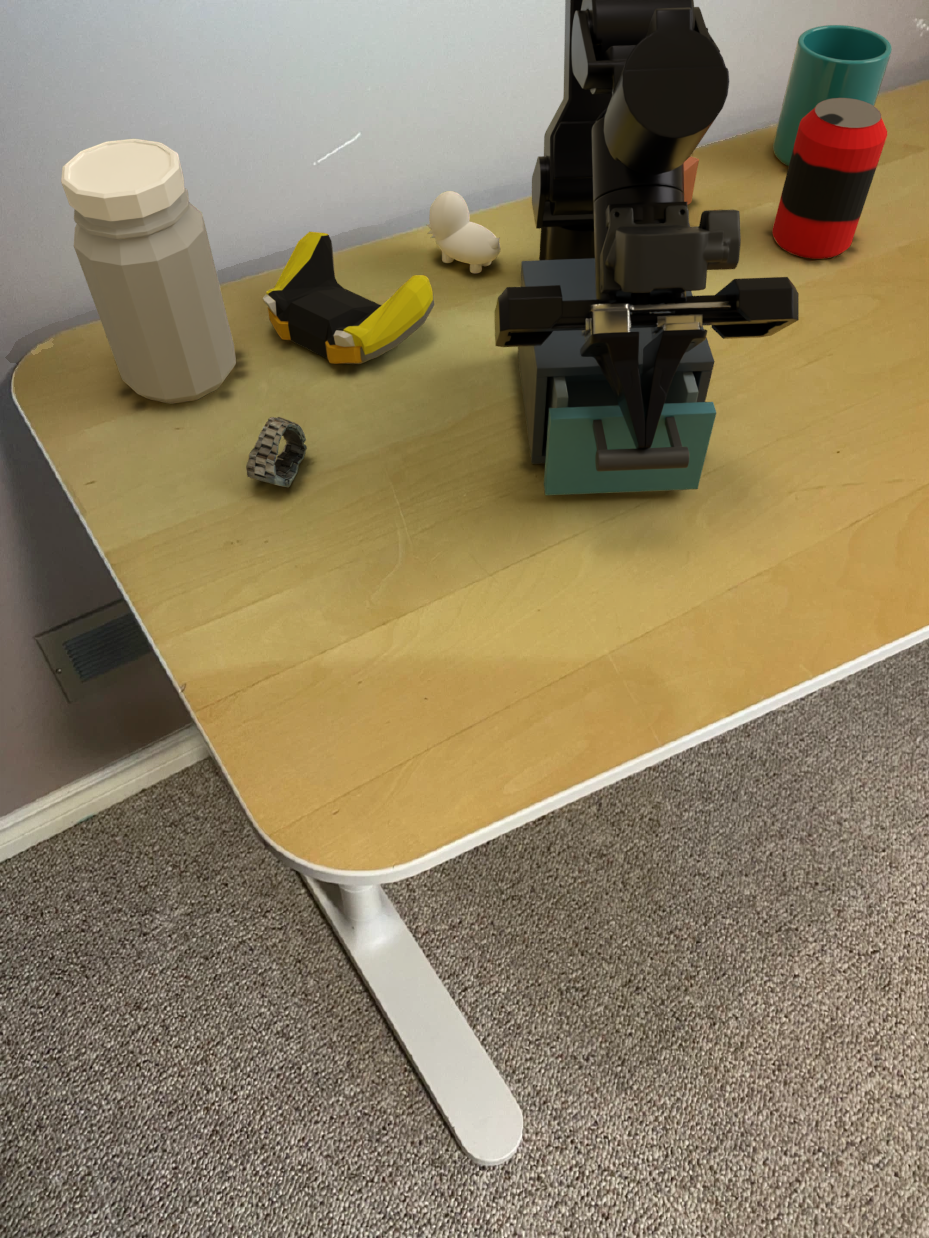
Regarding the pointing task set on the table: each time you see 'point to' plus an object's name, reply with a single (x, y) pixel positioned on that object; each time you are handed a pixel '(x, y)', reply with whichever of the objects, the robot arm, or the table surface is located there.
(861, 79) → the cup
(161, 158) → the jar
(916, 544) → the table surface
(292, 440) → the wristwatch
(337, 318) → the gaming controller
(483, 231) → the toy creature
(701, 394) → the small filing cabinet
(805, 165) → the soda can
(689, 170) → the block
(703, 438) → the drawer
